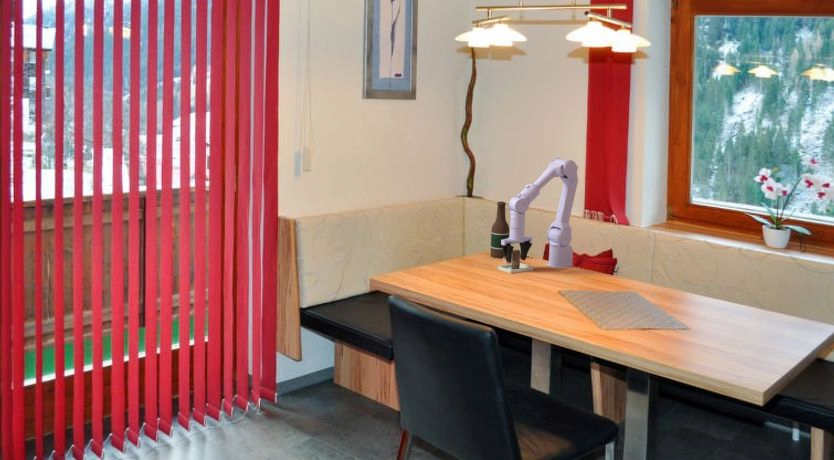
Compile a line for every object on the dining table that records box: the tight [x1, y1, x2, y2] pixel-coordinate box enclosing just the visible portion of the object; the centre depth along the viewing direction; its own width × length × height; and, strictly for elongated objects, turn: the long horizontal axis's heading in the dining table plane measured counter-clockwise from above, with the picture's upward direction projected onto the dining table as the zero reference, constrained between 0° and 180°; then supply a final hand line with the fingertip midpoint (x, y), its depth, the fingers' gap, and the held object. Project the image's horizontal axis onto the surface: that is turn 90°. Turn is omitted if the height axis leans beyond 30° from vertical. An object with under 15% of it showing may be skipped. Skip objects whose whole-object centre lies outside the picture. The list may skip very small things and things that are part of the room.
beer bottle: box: [490, 201, 510, 260], centre depth 374 cm, size 8×8×24 cm
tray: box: [496, 262, 535, 274], centre depth 354 cm, size 12×9×2 cm
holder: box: [502, 257, 512, 265], centre depth 364 cm, size 6×6×2 cm
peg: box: [511, 249, 521, 270], centre depth 354 cm, size 3×3×8 cm
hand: (515, 260), depth 354 cm, fingers open, 7 cm apart
